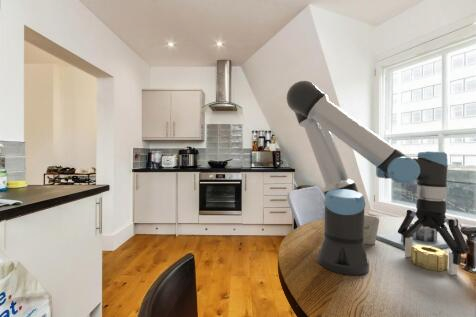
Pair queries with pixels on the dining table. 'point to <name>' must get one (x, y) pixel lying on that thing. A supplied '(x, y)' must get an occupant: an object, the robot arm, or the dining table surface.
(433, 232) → the gear
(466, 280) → the dining table surface
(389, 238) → the gear board
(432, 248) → the gear
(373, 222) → the mug
